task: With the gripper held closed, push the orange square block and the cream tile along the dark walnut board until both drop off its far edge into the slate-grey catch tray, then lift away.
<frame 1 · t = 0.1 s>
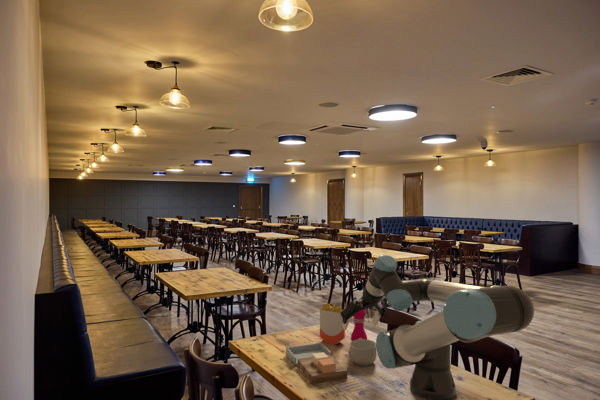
hand: (359, 325, 162), 15 cm above the table, tool tilted 35°, fingers open, 13 cm apart
catch tray: (308, 358, 168), on the table
french fries container: (332, 342, 186), on the table
teacup: (363, 361, 165), on the table
pepper mill: (358, 348, 178), on the table
cream tile: (320, 362, 155), point 3 cm above the table, touching walnut board
walnut board: (321, 372, 154), on the table
orange square block: (326, 369, 149), point 3 cm above the table, touching walnut board
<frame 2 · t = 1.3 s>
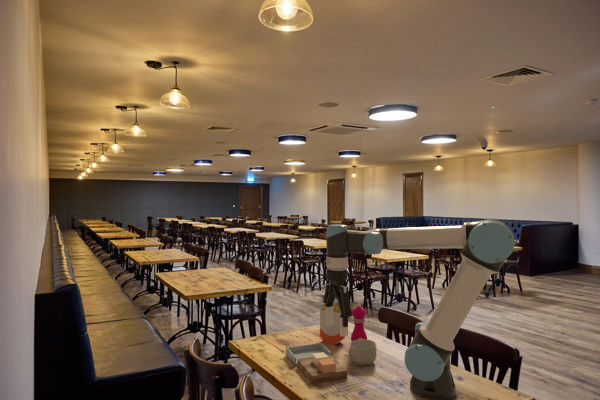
hand: (336, 330, 142), 20 cm above the table, tool pointing down, fingers open, 12 cm apart
nothing on the table moved.
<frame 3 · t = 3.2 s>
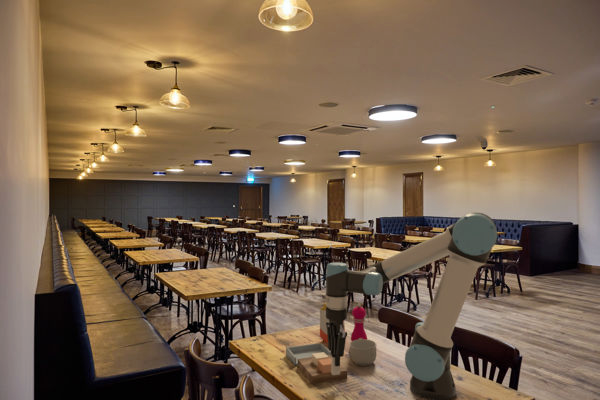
hand: (335, 373, 141), 5 cm above the table, tool pointing down, fingers closed
nothing on the table moved.
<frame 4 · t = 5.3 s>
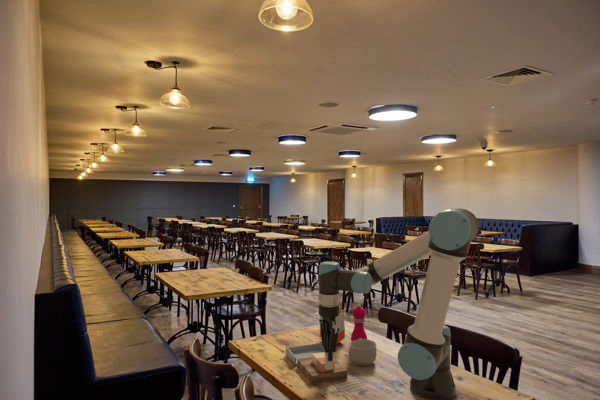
hand: (328, 368, 147), 4 cm above the table, tool pointing down, fingers closed
orange square block: (325, 368, 150), point 3 cm above the table, touching gripper, walnut board
everything else where it was.
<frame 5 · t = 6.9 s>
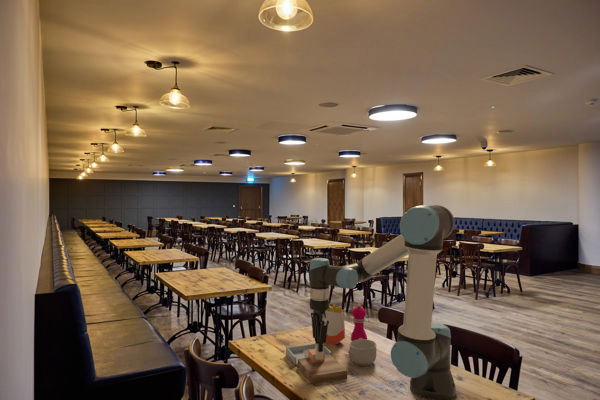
hand: (319, 358, 156), 4 cm above the table, tool pointing down, fingers closed
cream tile: (312, 356, 164), point 2 cm above the table, tilted 25°, touching orange square block
orange square block: (316, 359, 159), point 3 cm above the table, touching cream tile, gripper
everything else where it was.
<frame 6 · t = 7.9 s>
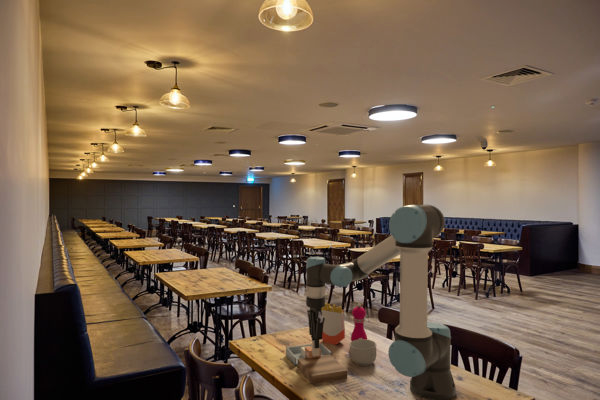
hand: (315, 355, 160), 4 cm above the table, tool pointing down, fingers closed
cream tile: (308, 355, 168), point 1 cm above the table, touching catch tray, orange square block
orange square block: (312, 355, 163), point 3 cm above the table, touching cream tile, gripper, walnut board
everything else where it was.
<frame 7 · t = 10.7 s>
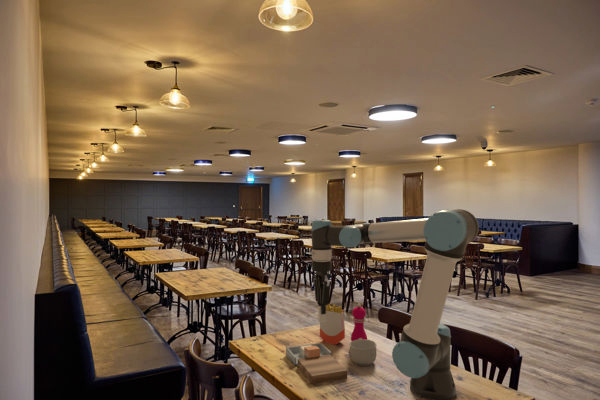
hand: (322, 321, 154), 20 cm above the table, tool pointing down, fingers closed
orange square block: (312, 355, 163), point 3 cm above the table, tilted 6°, touching cream tile, walnut board
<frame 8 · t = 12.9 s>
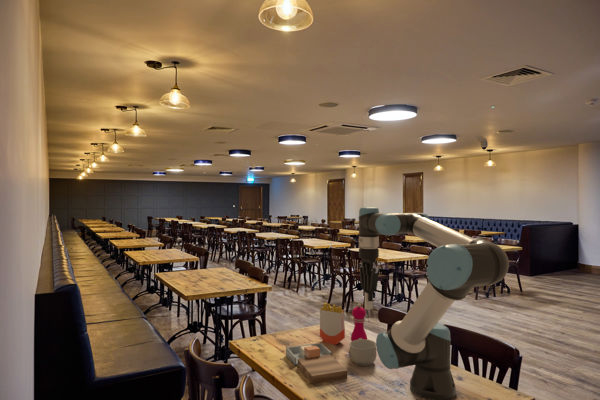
hand: (368, 308, 154), 24 cm above the table, tool pointing down, fingers closed
nothing on the table moved.
at the end: orange square block inside the target area on the catch tray (4.0 cm from its centre), point 2.8 cm above the catch tray's base; cream tile inside the target area on the catch tray (1.1 cm from its centre), point 1.0 cm above the catch tray's base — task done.
